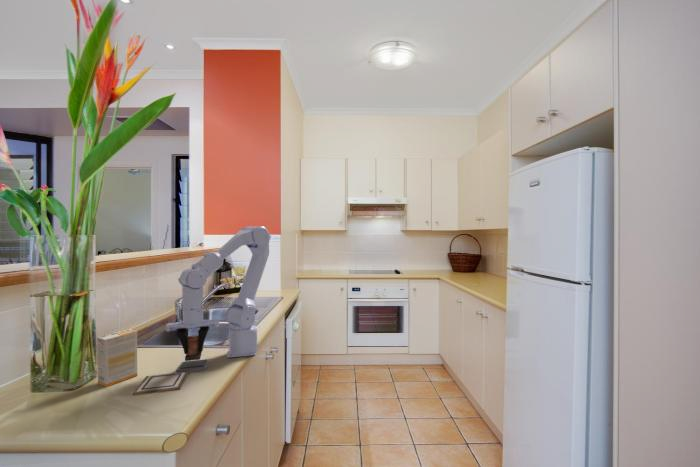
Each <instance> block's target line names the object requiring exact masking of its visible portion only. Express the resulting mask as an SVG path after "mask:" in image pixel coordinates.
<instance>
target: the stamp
mask: <svg viewBox="0 0 700 467" xmlns="http://www.w3.org/2000/svg"><path fill="white" fill-rule="evenodd" d="M187 341H188V353H187V354H185V356H184V360H185V361H195V360H201V356H202V352H201V353H199V334H192V335H188V337H187ZM185 361H184V362H185Z"/></svg>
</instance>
